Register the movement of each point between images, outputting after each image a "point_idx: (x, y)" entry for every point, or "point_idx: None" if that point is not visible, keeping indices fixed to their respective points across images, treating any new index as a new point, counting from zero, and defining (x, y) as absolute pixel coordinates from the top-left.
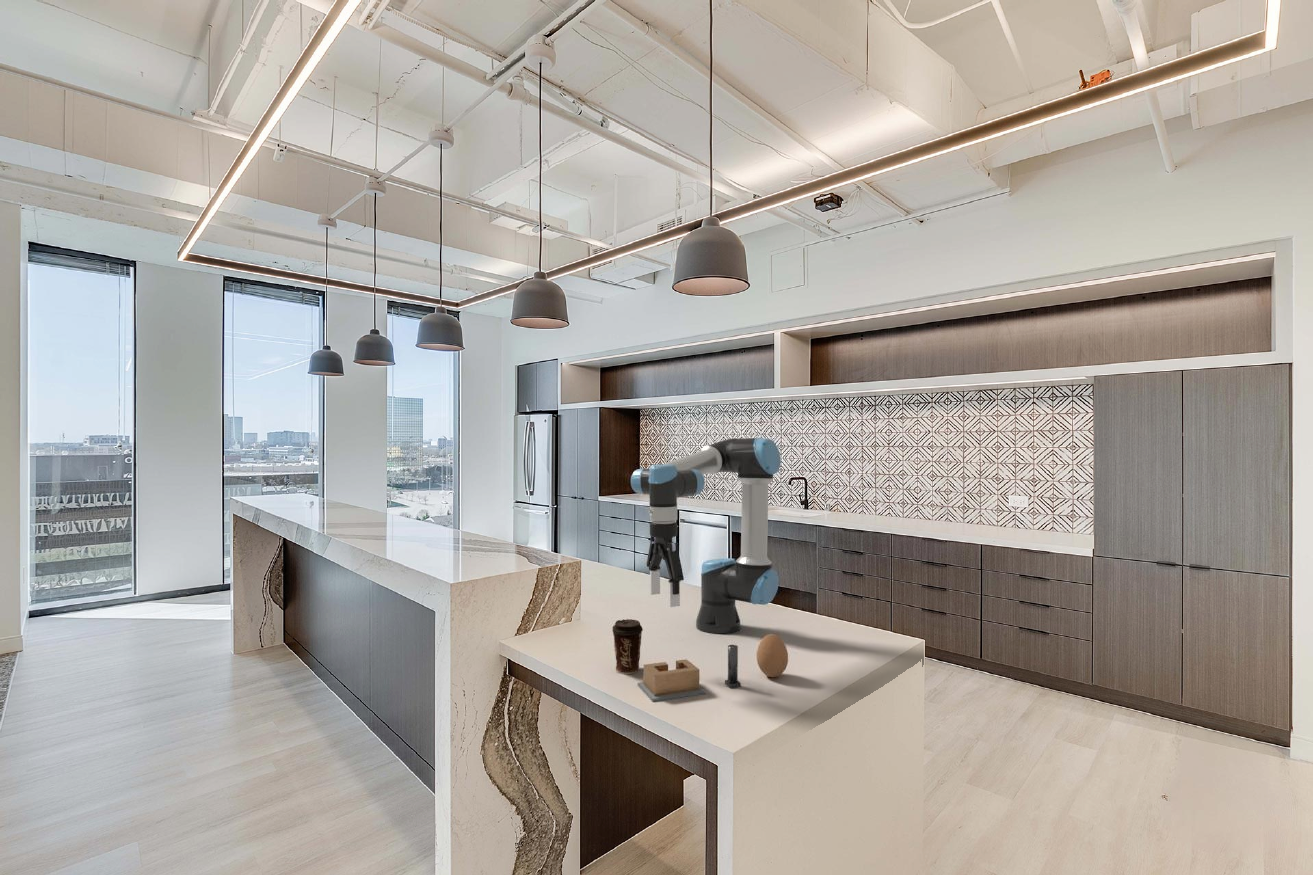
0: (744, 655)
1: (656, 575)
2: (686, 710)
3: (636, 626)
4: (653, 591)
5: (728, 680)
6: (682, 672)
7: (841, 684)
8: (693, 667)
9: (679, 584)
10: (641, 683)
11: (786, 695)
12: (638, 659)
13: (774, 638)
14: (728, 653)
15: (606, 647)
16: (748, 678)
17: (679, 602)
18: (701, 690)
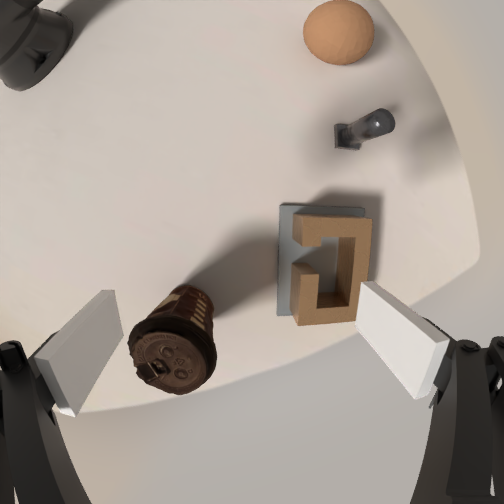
0: (195, 37)
1: (74, 365)
2: (400, 268)
3: (200, 349)
4: (115, 331)
5: (350, 145)
6: (368, 260)
7: (378, 5)
8: (358, 226)
9: (435, 329)
10: (283, 310)
11: (403, 89)
12: (201, 299)
13: (368, 17)
14: (376, 135)
15: (62, 301)
16: (322, 91)
17: (380, 288)
18: (358, 213)
